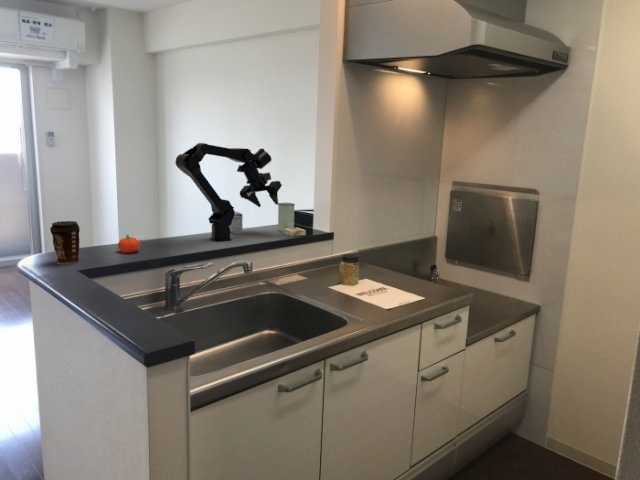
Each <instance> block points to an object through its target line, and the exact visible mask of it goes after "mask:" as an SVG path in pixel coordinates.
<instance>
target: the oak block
mask: <svg viewBox="0 0 640 480" xmlns="http://www.w3.org/2000/svg"><path fill="white" fill-rule="evenodd" d="M282 233H283V234H284V235H287V236H290V237H298V236H306V229H302V228H301V227H300V228H299V227H294V228H286V229H283V231H282Z"/></svg>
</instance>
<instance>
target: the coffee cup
mask: <svg viewBox="0 0 640 480" xmlns="http://www.w3.org/2000/svg"><path fill="white" fill-rule="evenodd" d="M49 229H50V233H51V236H52V244H53V251H55V253H56V257H57V259H56V264H58V265H64V266H65V265H72V264H77V263H78V262H79V261H80V260H79V254H80V230H81V229H80V226H79V224H78V221H75V220H68V221H67V220H65V221H63V220H62V221H61V220H60V221H55V222H52V223H51V227H50V228H49Z"/></svg>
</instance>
